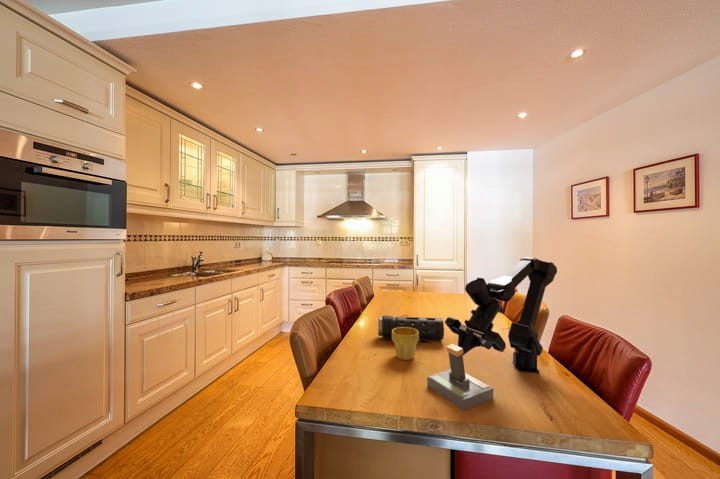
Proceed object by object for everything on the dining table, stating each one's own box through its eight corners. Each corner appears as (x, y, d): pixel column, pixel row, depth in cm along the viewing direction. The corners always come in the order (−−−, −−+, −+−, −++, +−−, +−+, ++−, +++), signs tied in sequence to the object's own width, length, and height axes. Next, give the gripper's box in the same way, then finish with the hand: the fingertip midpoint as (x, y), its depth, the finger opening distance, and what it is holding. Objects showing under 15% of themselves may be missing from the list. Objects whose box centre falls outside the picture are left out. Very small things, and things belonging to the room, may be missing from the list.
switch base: (455, 376, 93) (455, 361, 92) (493, 398, 80) (493, 381, 80) (427, 385, 87) (427, 369, 87) (463, 410, 75) (463, 392, 74)
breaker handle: (456, 376, 86) (452, 343, 85) (467, 382, 82) (462, 348, 81) (451, 379, 85) (446, 346, 84) (461, 386, 81) (457, 351, 80)
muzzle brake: (444, 345, 119) (444, 321, 119) (378, 342, 122) (378, 318, 122) (440, 337, 129) (440, 315, 129) (378, 334, 132) (378, 312, 132)
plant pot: (385, 356, 108) (386, 330, 108) (402, 348, 116) (402, 324, 115) (408, 365, 101) (408, 337, 101) (424, 356, 108) (424, 331, 108)
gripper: (524, 339, 83) (499, 385, 78) (471, 322, 99) (448, 359, 94) (508, 316, 79) (480, 362, 74) (456, 302, 96) (431, 339, 90)
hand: (458, 355), depth 83 cm, fingers closed, pressing on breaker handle
